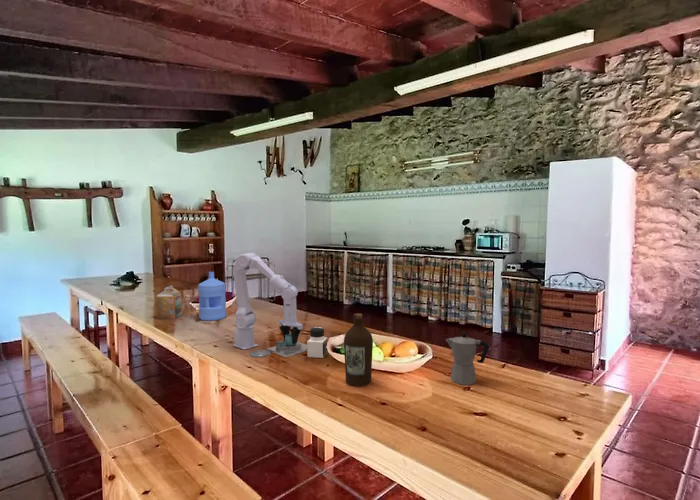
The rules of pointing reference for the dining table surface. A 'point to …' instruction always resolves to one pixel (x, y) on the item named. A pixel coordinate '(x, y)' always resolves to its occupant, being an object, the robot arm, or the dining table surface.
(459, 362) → the coffeepot
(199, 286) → the water jug
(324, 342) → the medicine bottle
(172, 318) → the milk carton
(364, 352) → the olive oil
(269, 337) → the dining table surface
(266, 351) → the coaster
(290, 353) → the post base
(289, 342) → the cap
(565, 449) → the dining table surface
